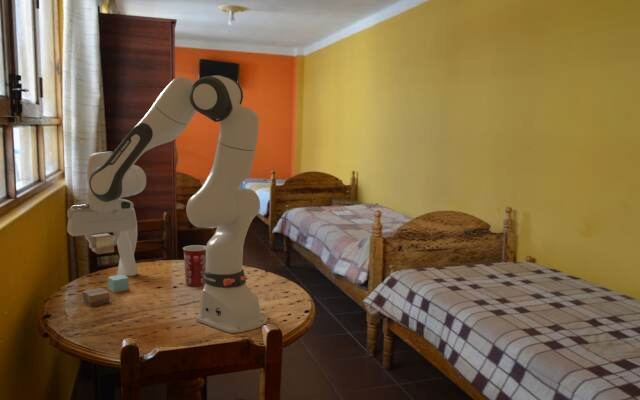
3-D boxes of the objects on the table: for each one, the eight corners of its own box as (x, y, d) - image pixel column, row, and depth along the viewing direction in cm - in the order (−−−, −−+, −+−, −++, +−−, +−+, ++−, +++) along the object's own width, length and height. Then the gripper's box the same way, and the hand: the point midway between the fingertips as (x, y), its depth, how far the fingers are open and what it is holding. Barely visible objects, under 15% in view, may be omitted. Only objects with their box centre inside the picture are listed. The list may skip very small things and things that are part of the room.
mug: (183, 280, 186) (183, 244, 184) (208, 279, 189) (208, 244, 187) (182, 291, 174) (182, 253, 172) (208, 290, 176) (209, 253, 174)
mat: (119, 304, 159) (119, 302, 159) (87, 311, 152) (87, 309, 152) (104, 294, 168) (104, 292, 167) (73, 301, 161) (73, 299, 160)
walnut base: (109, 301, 160) (109, 292, 159) (90, 305, 156) (89, 296, 155) (102, 296, 164) (101, 287, 163) (83, 300, 160) (82, 291, 159)
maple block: (113, 252, 159) (113, 236, 158) (97, 254, 155) (97, 238, 154) (107, 248, 162) (107, 233, 161) (91, 250, 159) (91, 235, 158)
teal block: (128, 291, 172) (128, 277, 171) (114, 294, 168) (113, 280, 168) (122, 288, 175) (122, 274, 175) (108, 291, 172) (107, 276, 171)
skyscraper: (127, 279, 185) (126, 204, 181) (111, 276, 188) (110, 202, 184) (142, 273, 192) (141, 201, 188) (126, 271, 195) (125, 200, 191)
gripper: (70, 207, 147) (71, 253, 149) (138, 202, 161) (138, 244, 163) (63, 203, 151) (64, 248, 153) (130, 199, 165) (129, 240, 167)
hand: (102, 246), depth 158 cm, fingers closed on maple block, 5 cm apart
